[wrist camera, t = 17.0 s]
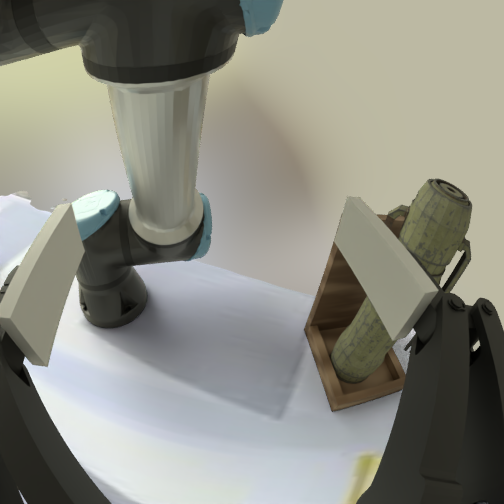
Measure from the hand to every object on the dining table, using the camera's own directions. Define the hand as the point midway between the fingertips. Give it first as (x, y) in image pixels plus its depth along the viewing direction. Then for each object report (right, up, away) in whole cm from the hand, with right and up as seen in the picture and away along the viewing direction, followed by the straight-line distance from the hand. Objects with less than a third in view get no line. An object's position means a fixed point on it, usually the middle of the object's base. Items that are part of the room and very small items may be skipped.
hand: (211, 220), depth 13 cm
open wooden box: (+21, -22, +35) cm, 46 cm away
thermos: (+20, -22, +34) cm, 45 cm away
